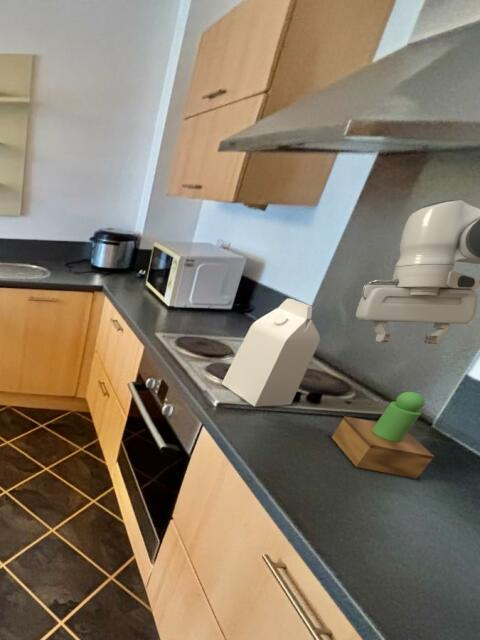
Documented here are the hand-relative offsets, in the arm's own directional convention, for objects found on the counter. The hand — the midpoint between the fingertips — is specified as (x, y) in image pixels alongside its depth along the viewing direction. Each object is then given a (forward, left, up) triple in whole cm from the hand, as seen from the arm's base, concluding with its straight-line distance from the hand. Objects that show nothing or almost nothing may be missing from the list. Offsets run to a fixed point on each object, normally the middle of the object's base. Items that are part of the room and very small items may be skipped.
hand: (406, 342), depth 94 cm
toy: (+5, +17, -15) cm, 23 cm away
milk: (+22, -5, -22) cm, 31 cm away
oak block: (+5, +17, -21) cm, 28 cm away
